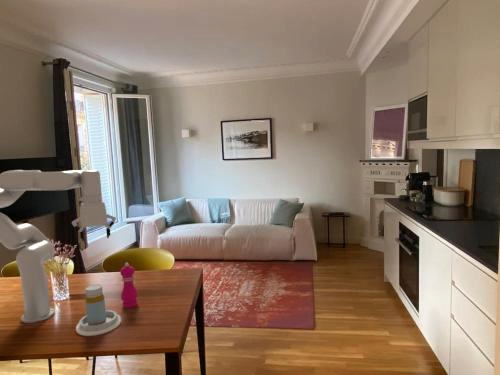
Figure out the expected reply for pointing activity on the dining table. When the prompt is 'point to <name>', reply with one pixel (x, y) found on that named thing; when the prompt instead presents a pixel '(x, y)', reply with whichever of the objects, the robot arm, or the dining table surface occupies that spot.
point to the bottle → (95, 305)
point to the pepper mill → (128, 287)
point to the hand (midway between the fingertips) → (95, 238)
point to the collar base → (92, 330)
